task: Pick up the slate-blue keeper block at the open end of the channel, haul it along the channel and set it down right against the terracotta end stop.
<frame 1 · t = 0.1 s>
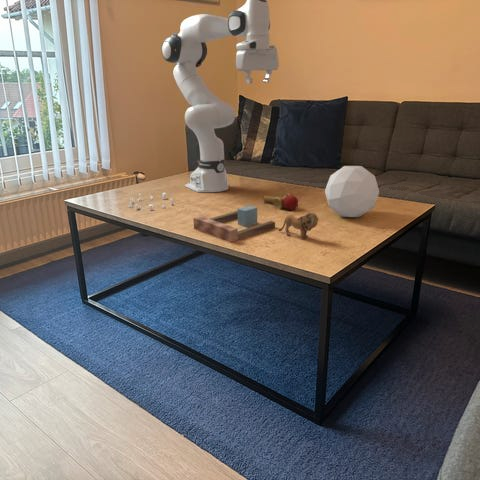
hand: (258, 83, 180), 48 cm above the table, tool pointing down, fingers open, 8 cm apart
geometric polyhedron: (350, 216, 175), on the table
stop channel: (237, 226, 165), on the table
game piece set: (151, 205, 196), on the table
keeper block: (247, 223, 168), on the table
kendama: (279, 207, 189), on the table
lion figurine: (298, 236, 155), on the table
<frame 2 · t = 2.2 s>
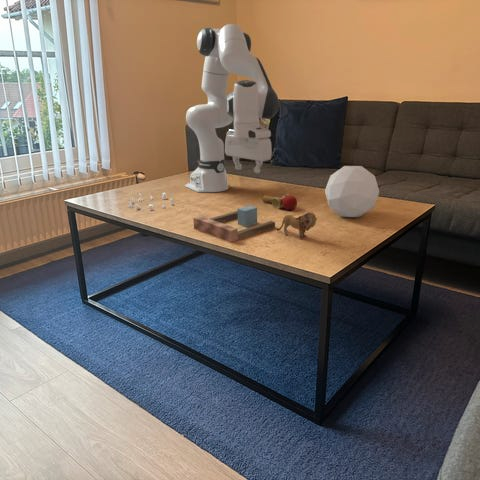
hand: (247, 171, 161), 19 cm above the table, tool pointing down, fingers open, 8 cm apart
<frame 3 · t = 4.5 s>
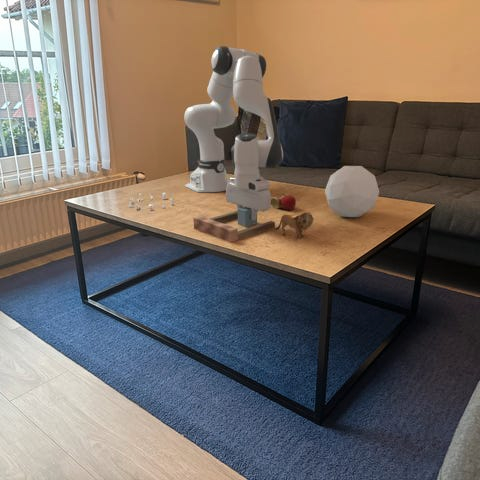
hand: (247, 218, 167), 2 cm above the table, tool pointing down, fingers closed on keeper block, 4 cm apart
keeper block: (247, 223, 168), on the table, touching gripper
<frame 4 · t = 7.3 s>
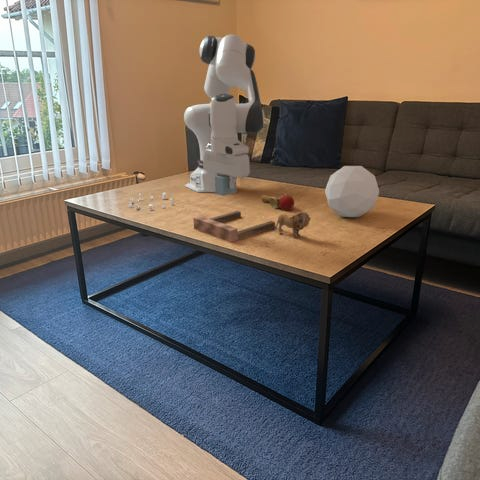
hand: (225, 187, 156), 16 cm above the table, tool pointing down, fingers closed on keeper block, 4 cm apart
keeper block: (226, 193, 157), point 13 cm above the table, touching gripper
lion figurine: (291, 235, 156), on the table
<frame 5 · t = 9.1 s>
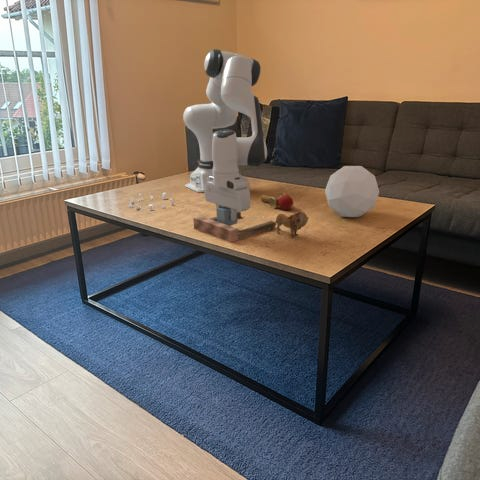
hand: (227, 218, 160), 4 cm above the table, tool pointing down, fingers closed on keeper block, 4 cm apart
keeper block: (227, 224, 161), point 2 cm above the table, touching gripper
when the fingers open (3 cm above the table, at t = 10.2 s): keeper block drops 1 cm, on the table.
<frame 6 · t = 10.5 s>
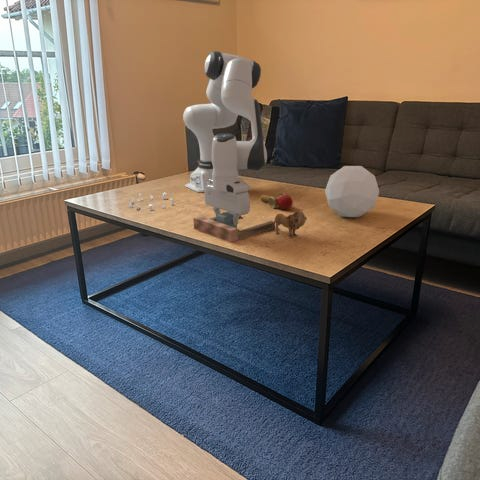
hand: (226, 221, 161), 3 cm above the table, tool pointing down, fingers open, 7 cm apart
keeper block: (227, 230, 162), on the table
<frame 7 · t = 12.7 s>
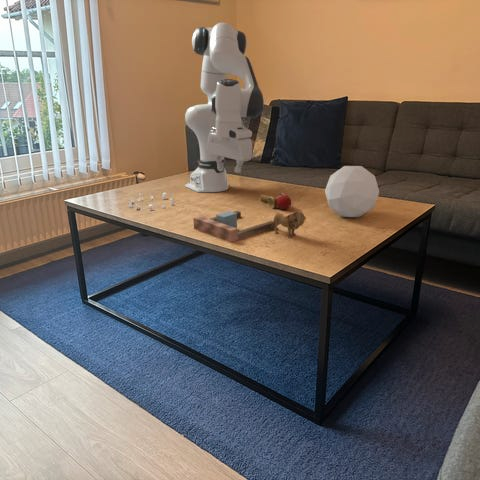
hand: (228, 170, 161), 20 cm above the table, tool pointing down, fingers open, 8 cm apart
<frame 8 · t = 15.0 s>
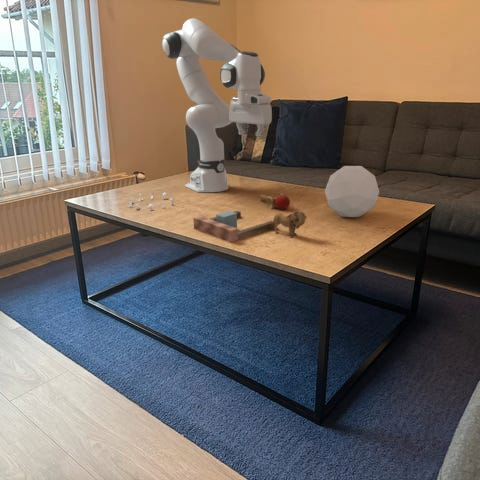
hand: (249, 135, 177), 29 cm above the table, tool pointing down, fingers open, 8 cm apart
at the end: keeper block inside the target area (0.4 cm from its centre), on the table; keeper block tilted 0°; the gripper is holding nothing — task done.
